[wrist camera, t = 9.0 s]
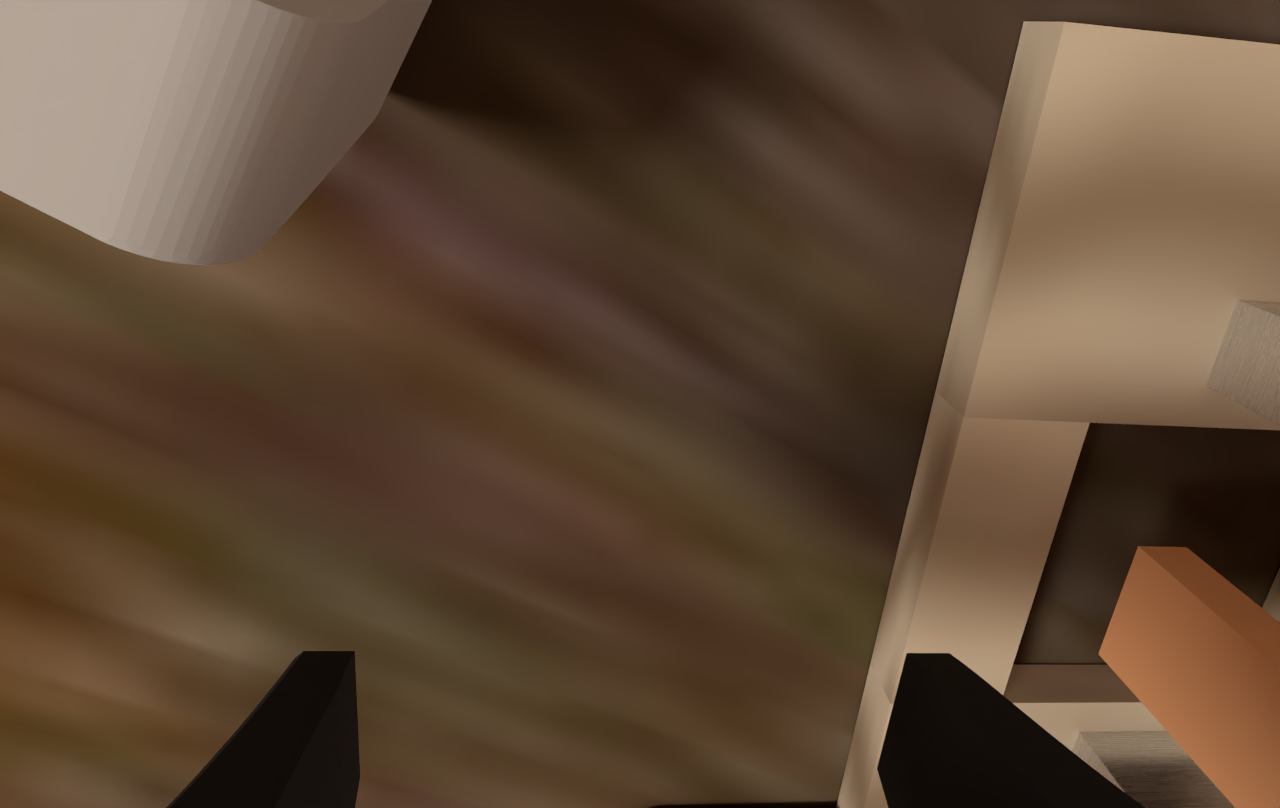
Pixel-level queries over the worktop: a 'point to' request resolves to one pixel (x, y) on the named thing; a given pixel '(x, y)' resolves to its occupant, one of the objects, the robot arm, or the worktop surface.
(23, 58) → the wall hook
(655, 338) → the worktop surface
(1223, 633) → the notched orange block
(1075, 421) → the shelf board
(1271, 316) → the grey rod with blocks
